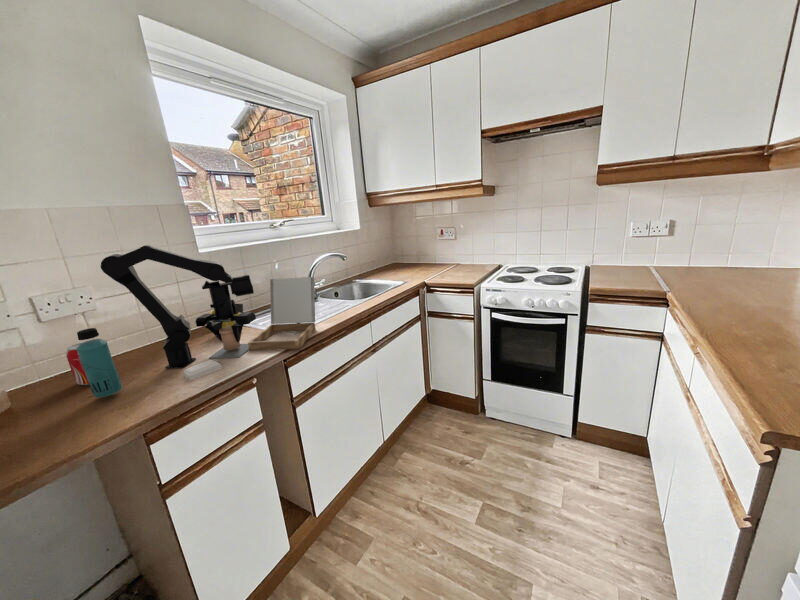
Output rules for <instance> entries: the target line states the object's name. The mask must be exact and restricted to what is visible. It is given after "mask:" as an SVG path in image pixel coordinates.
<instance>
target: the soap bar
mask: <svg viewBox="0 0 800 600" xmlns="http://www.w3.org/2000/svg"><path fill="white" fill-rule="evenodd" d="M220 369H222V365H221V363H220V362H217V361H215V360H213V359H209V360H205V361H204V362H203V361H202V362H201V363H198V364H196V365H193V366H190V367H188V368H186V369H184V370H183V371H182V372H183V377H185V378H186V379H188V380H189V381H193V380H195V379H197V378H201V377H203V376H205V375H208V374H210V373H213V372H216V371H218V370H220Z"/></svg>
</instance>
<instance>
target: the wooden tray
mask: <svg viewBox="0 0 800 600" xmlns="http://www.w3.org/2000/svg"><path fill="white" fill-rule="evenodd" d="M316 330H317V329H316V322H308V323H285V324H270V325H269V326H267V327H266V328H265V329H264V330H262V331H260V333H258V334H257V335H256V336H254V337H253V338H252V339H251V340H249V341H248V342H247V344H248V346H249V350H248V351H250V352H251V351H273V350H275V351H278V350H277V349H283V350H300V348H301V347H302V346H303V345H305V343H306V341H307V340H308V339H309V338H310V337H311V336H312V335H313V334H314V332H316ZM291 331H296V332H302V333H301V334H300V335H299V336H298V337H297V338H296V339H286V340H285V339H284V340H280V339H279V340H267V338H269V337H270V336H272V334H274V333H292V332H291ZM312 333H313V334H312ZM311 334H312V335H311ZM310 335H311V336H310ZM309 336H310V337H309Z"/></svg>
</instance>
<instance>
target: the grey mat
mask: <svg viewBox="0 0 800 600" xmlns="http://www.w3.org/2000/svg"><path fill="white" fill-rule="evenodd" d="M248 351H249V346H248V343H240V347H239V348H237V349H234V350H229V351H227V350H224V346H223V347H222V348H220V349H219V350H217V351H216V352H214V353H213V354H212V355H211V356H209V357H208V359H209V360H213V359H237V358H238V359H239V358H242V356H244V355H245V354H246V353H247V352H248Z"/></svg>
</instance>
